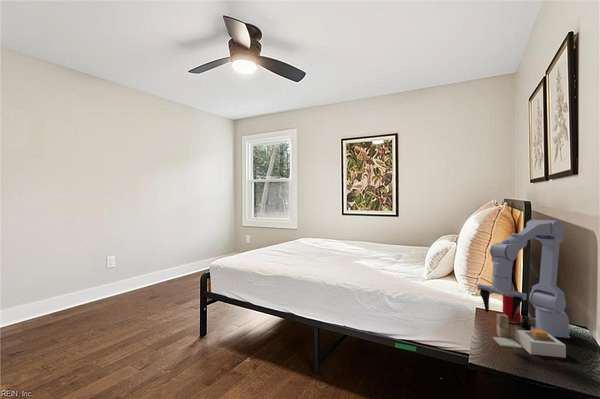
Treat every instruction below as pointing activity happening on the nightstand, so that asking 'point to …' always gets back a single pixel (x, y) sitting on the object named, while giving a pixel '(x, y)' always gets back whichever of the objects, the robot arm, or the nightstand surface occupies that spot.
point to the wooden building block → (502, 325)
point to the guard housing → (540, 344)
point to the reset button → (539, 333)
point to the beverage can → (508, 309)
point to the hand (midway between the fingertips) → (499, 315)
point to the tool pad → (507, 342)
